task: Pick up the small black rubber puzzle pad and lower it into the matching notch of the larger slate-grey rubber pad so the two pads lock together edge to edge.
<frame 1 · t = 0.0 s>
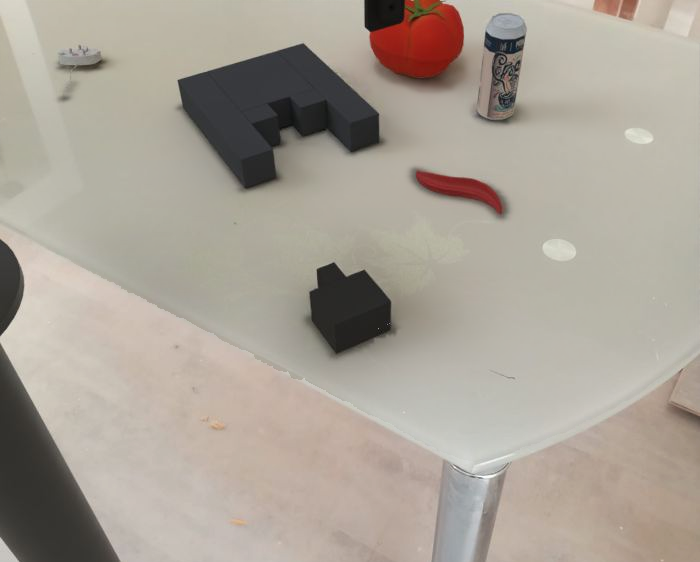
hand: (352, 1, 61), 27 cm above the table, tool pointing down, fingers open, 9 cm apart
black pad piece: (350, 325, 75), on the table
tomato: (418, 66, 107), on the table
beer can: (494, 113, 99), on the table
grey pad: (278, 124, 98), on the table
cayenne pepper: (459, 192, 88), on the table
game controller: (74, 76, 107), on the table
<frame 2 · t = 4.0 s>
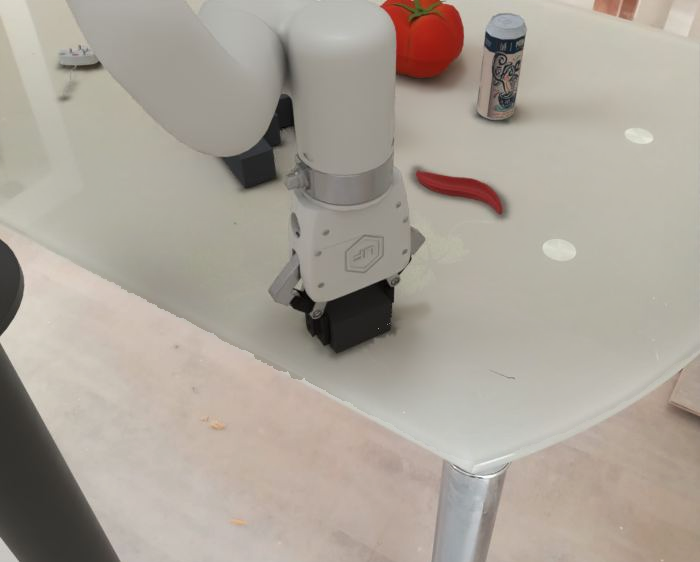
hand: (350, 321, 74), 1 cm above the table, tool pointing down, fingers closed on black pad piece, 6 cm apart
black pad piece: (350, 325, 75), on the table, touching gripper
everything else where it was.
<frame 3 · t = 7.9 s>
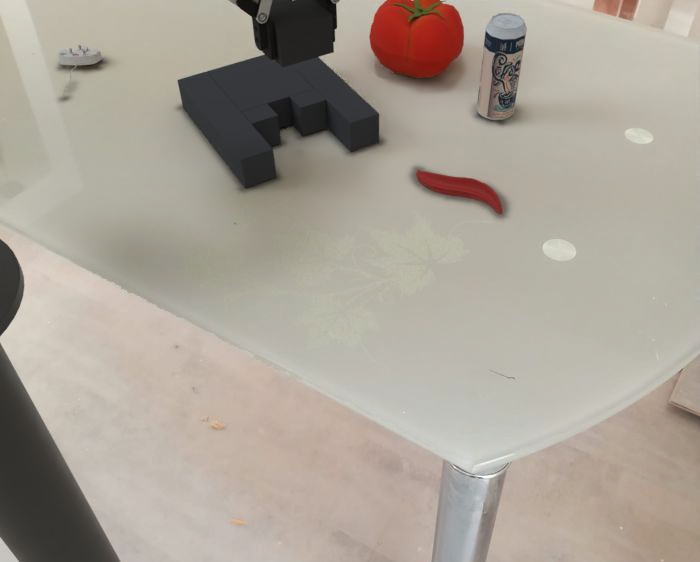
hand: (297, 44, 81), 15 cm above the table, tool pointing down, fingers closed on black pad piece, 6 cm apart
black pad piece: (297, 49, 81), point 15 cm above the table, touching gripper
everything else where it was.
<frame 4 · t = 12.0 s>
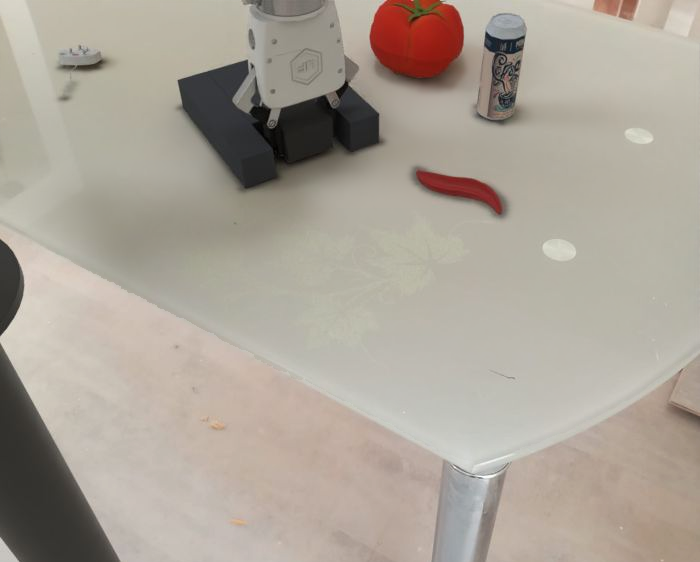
hand: (301, 140, 93), 2 cm above the table, tool pointing down, fingers closed on black pad piece, 6 cm apart
black pad piece: (302, 145, 93), point 1 cm above the table, touching gripper
everything else where it was.
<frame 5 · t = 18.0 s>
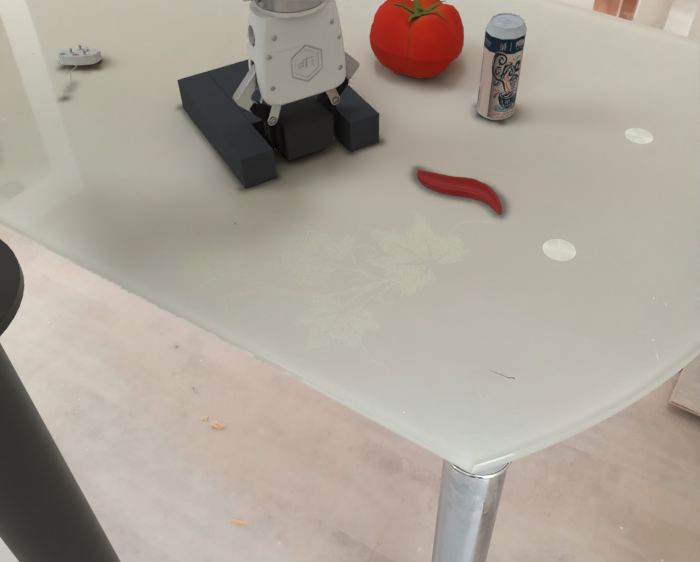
hand: (302, 137, 92), 2 cm above the table, tool pointing down, fingers closed on black pad piece, 6 cm apart
black pad piece: (302, 142, 93), point 1 cm above the table, touching gripper
everything else where it was.
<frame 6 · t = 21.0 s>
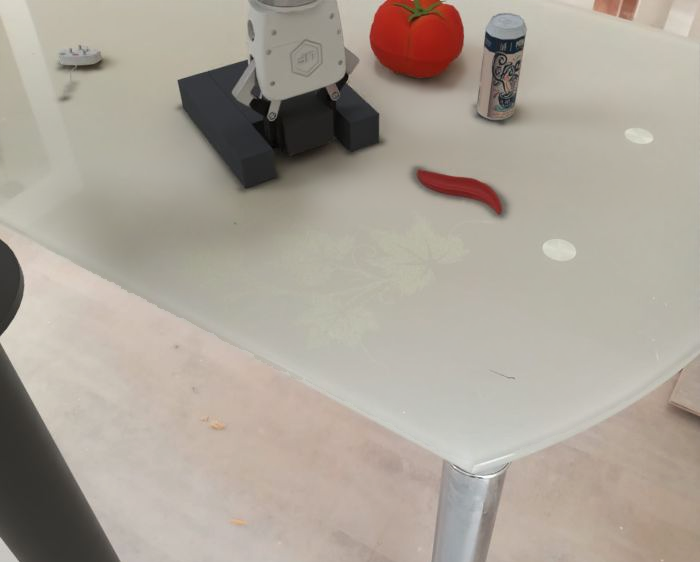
hand: (301, 133, 92), 3 cm above the table, tool pointing down, fingers closed on black pad piece, 6 cm apart
black pad piece: (302, 138, 92), point 2 cm above the table, touching gripper
everything else where it was.
when the fingers open (3 cm above the table, at t = 23.7 s): black pad piece drops 3 cm, on the table.
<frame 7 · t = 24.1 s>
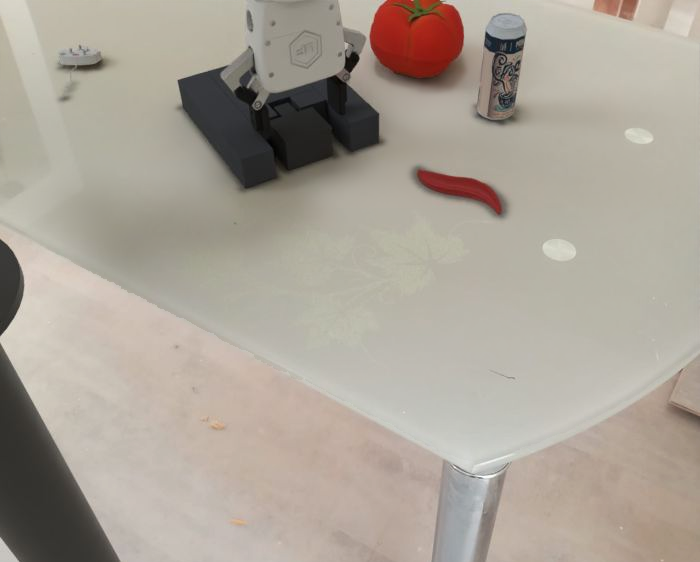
hand: (300, 121, 91), 4 cm above the table, tool pointing down, fingers open, 9 cm apart
black pad piece: (301, 152, 94), on the table
everything else where it was.
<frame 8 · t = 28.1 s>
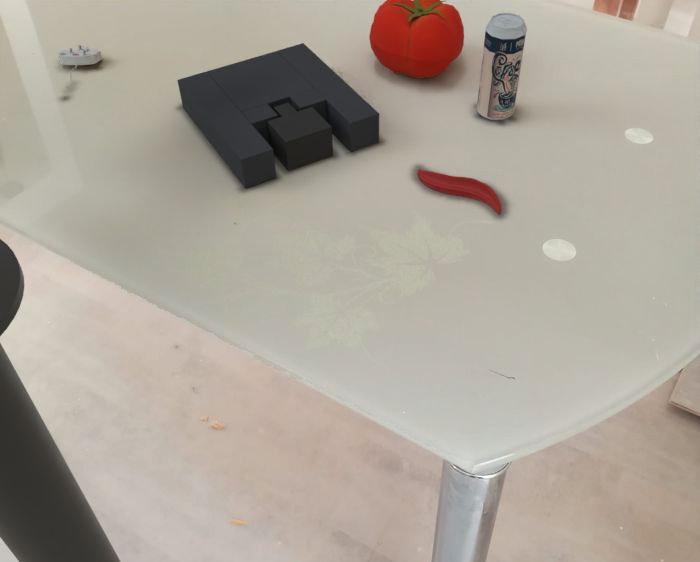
nothing on the table moved.
at the end: black pad piece 0.2 cm from the target spot on the grey pad, point 0.0 cm above the grey pad's base; black pad piece tilted 0°; the gripper is holding nothing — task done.
